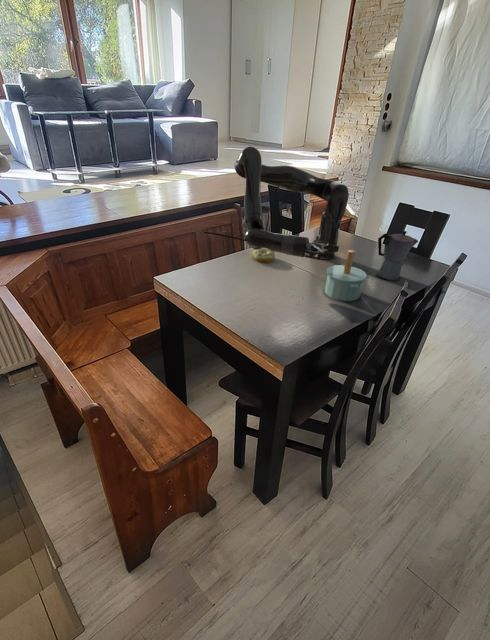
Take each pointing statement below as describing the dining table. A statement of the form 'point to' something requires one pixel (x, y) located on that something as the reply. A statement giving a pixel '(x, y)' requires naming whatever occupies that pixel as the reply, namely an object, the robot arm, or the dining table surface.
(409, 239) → the moka pot
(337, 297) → the pot
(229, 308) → the dining table surface
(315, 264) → the dining table surface
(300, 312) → the dining table surface
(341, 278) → the pot lid
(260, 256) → the decorated donut
